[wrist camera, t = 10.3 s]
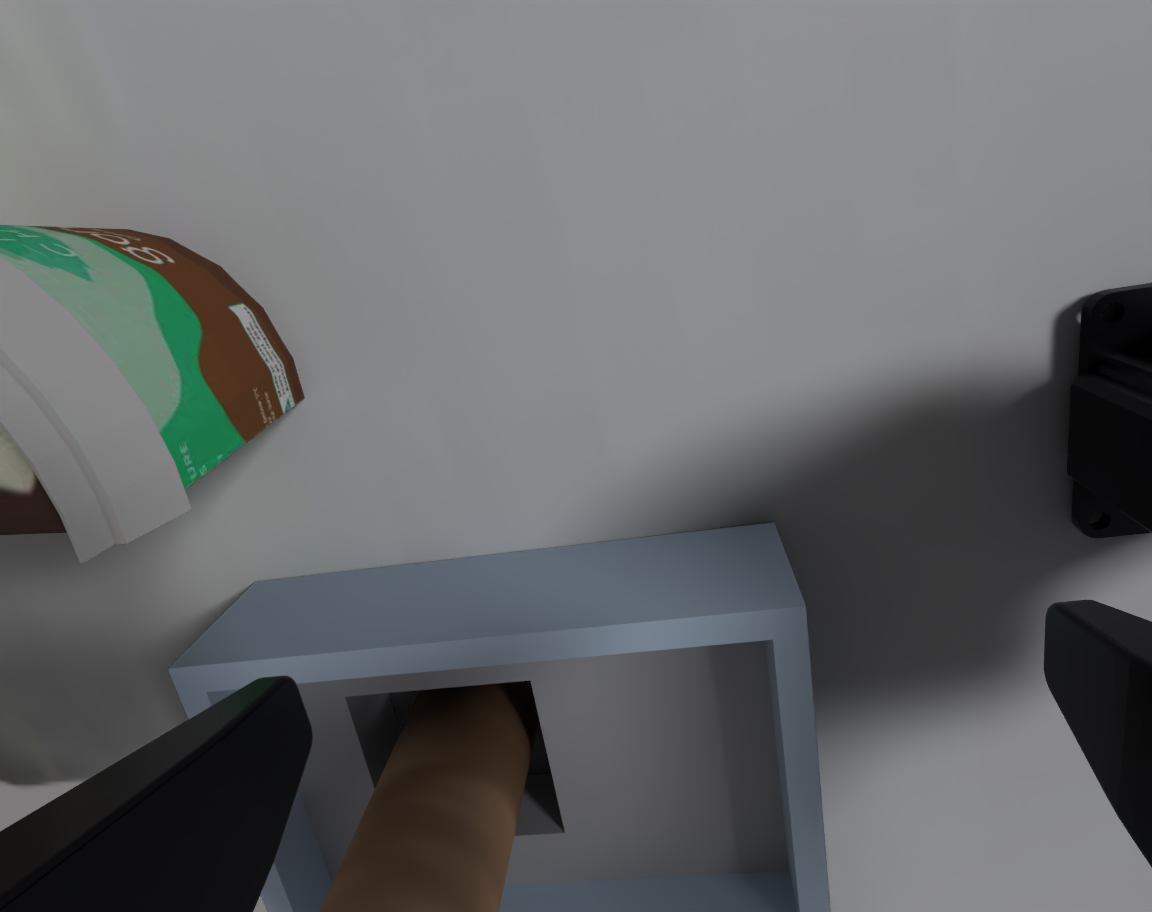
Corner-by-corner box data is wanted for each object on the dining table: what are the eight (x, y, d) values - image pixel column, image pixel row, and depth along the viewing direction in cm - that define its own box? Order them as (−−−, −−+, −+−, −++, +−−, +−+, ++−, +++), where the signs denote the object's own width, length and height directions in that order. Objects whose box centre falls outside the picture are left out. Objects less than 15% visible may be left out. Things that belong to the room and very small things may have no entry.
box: (774, 522, 21) (805, 605, 17) (802, 822, 24) (833, 954, 20) (254, 581, 23) (167, 668, 19) (348, 848, 27) (292, 972, 22)
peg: (525, 653, 23) (456, 917, 15) (548, 755, 24) (496, 1052, 16) (405, 664, 24) (271, 925, 15) (433, 763, 25) (324, 1054, 17)
